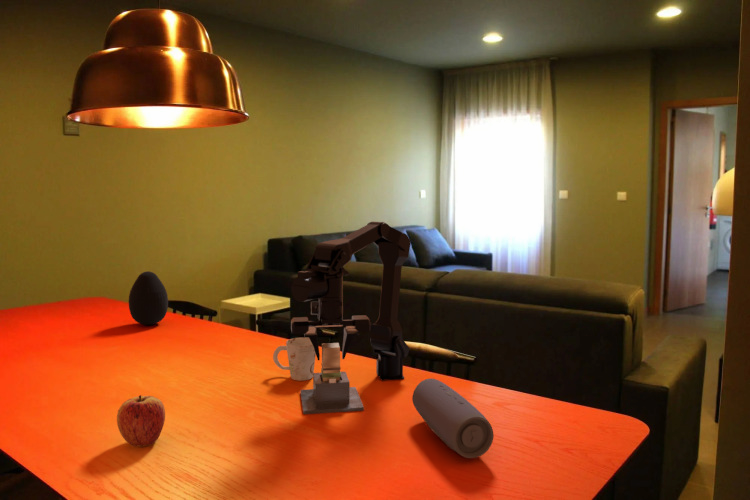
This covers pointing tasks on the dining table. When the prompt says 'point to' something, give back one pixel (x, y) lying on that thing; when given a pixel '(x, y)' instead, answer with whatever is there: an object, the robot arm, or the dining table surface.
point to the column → (330, 361)
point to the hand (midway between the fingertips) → (330, 359)
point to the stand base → (330, 396)
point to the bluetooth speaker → (453, 418)
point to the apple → (141, 420)
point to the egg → (148, 299)
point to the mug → (298, 358)
